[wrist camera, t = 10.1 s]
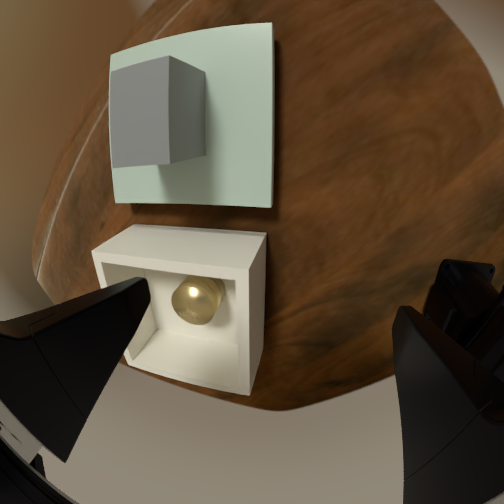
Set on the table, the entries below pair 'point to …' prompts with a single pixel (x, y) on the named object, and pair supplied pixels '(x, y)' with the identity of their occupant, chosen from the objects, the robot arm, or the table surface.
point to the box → (175, 328)
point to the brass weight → (198, 298)
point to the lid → (195, 118)
